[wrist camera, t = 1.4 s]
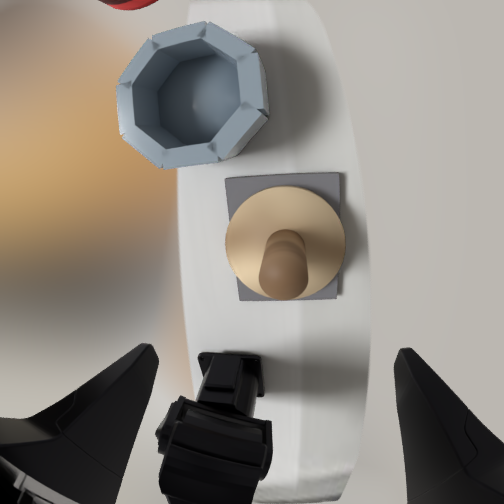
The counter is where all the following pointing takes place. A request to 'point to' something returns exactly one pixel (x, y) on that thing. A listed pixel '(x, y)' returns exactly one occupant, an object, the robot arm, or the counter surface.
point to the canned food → (128, 4)
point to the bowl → (192, 96)
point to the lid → (285, 242)
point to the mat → (249, 185)
